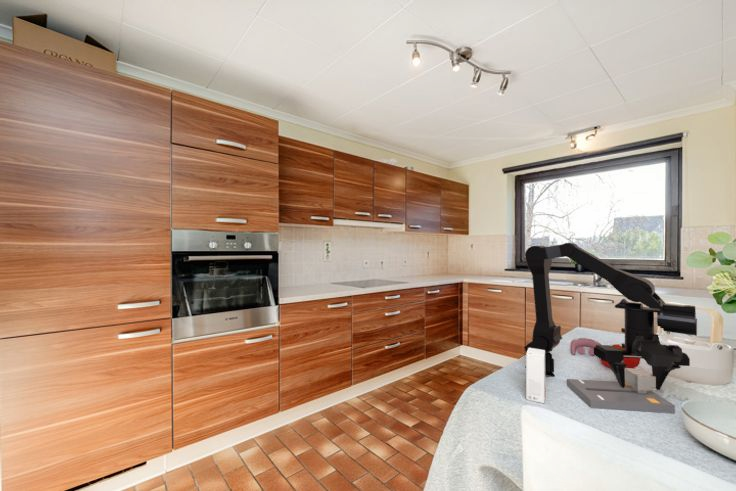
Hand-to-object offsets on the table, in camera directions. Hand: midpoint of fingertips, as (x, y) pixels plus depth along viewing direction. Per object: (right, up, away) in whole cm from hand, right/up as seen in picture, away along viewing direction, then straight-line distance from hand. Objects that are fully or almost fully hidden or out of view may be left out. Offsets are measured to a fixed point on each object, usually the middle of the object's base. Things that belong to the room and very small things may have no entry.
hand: (639, 388), depth 79 cm
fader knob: (0, -1, 0) cm, 1 cm away
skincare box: (-25, -4, +2) cm, 26 cm away
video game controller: (+9, -3, +32) cm, 34 cm away
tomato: (+12, -3, +21) cm, 25 cm away
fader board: (-5, -3, +1) cm, 6 cm away
